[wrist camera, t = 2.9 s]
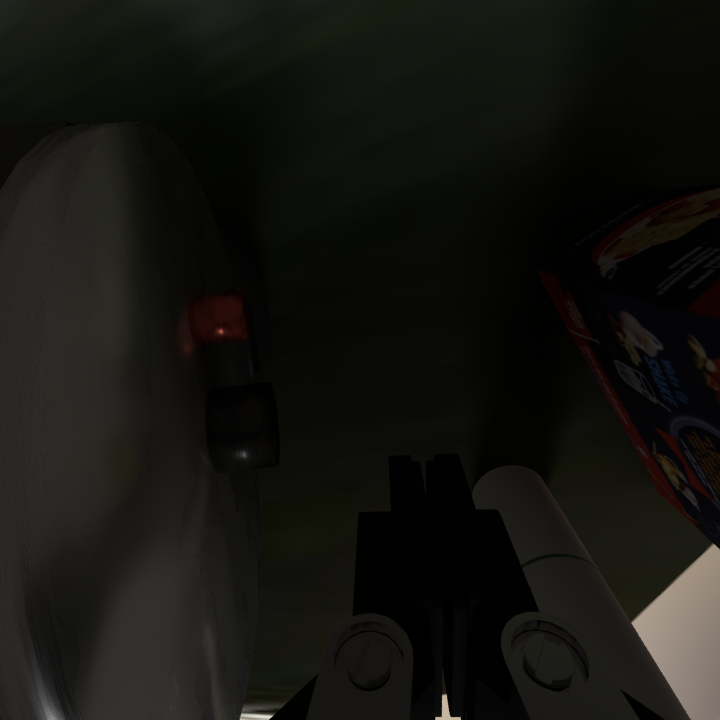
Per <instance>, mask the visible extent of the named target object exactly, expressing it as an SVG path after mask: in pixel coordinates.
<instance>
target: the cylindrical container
mask: <svg viewBox="0 0 720 720" xmlns="http://www.w3.org/2000/svg"><path fill="white" fill-rule="evenodd" d="M472 498H473V501H474V504H475V507H476V509H497V510H498V511H499V513H500V515H501V517H502V519H503V522H504V524H505V527H506V529H507V532H508V534H509V537H510V539H511V542H512V544H513V547H514V549H515V552H516V554H517V557H518V559H519V562H520V564H521V567H522V569H523V572H524V574H525V576H526V579H527V581H528V584H529V586H530V589H531V591H532V594H533V596H534V599H535V601H536V604H537V606H538V609H539V611H540V612H542V613H546V614H550V615H554V616H556V617H558V618H560V619H562V620H564V621H566V622H568V623H569V624H571V625H572V626H573V627H574V628H576V629H577V630H578V631H579V632H581V633H582V634H583V636H584V637H585V638H586V639H587V640H588V642H589V643H590V644H591V645H592V647H593V648H594V650H595V651H596V653H597V654H598V656H599V657H600V659H601V661H602V662H603V664H604V665H605V667H606V668H607V670H608V671H609V673H610V674H611V676H612V678H613V679H614V681H615V682H616V684H617V685H618V687H619V688H620V689H621V690H623V691H624V692H626V693H627V694H629V695H630V696H631V697H633V698H634V699H636V700H637V701H639V702H640V703H642V704H643V705H645V706H646V707H647V708H649V709H650V710H652V711H653V712H655V713H656V714H658V715H659V716H661V717H662V718H663V719H665V720H691V719H690V718H689V716H688V714H687V713H686V711H685V710H684V708H683V706H682V705H681V703H680V702H679V700H678V698H677V697H676V695H675V693H674V692H673V690H672V689H671V687H670V685H669V684H668V682H667V680H666V679H665V677H664V676H663V674H662V672H661V671H660V669H659V667H658V666H657V664H656V663H655V661H654V659H653V658H652V656H651V654H650V653H649V651H648V650H647V648H646V646H645V645H644V643H643V641H642V640H641V638H640V637H639V635H638V633H637V632H636V630H635V628H634V627H633V625H632V624H631V622H630V620H629V619H628V617H627V615H626V614H625V612H624V611H623V609H622V607H621V606H620V604H619V603H618V601H617V599H616V598H615V596H614V594H613V593H612V591H611V589H610V588H609V586H608V585H607V583H606V581H605V580H604V578H603V576H602V575H601V573H600V572H599V570H598V568H597V567H596V565H595V564H594V562H593V560H592V559H591V557H590V555H589V554H588V552H587V551H586V549H585V547H584V546H583V544H582V543H581V541H580V539H579V538H578V536H577V534H576V533H575V531H574V530H573V528H572V526H571V525H570V523H569V522H568V520H567V518H566V517H565V515H564V513H563V512H562V510H561V509H560V507H559V505H558V504H557V502H556V501H555V499H554V497H553V496H552V494H551V492H550V491H549V489H548V488H547V486H546V484H545V483H544V481H543V480H542V478H541V477H540V476H539V475H538V474H537V473H536V472H535V471H533V470H532V469H529V468H527V467H524V466H519V465H507V466H501V467H498V468H495V469H493V470H491V471H489V472H487V473H486V474H485V475H483V476H482V477H481V478H480V479H479V480H478V482H477V483H476V485H475V487H474V489H473V492H472Z"/></svg>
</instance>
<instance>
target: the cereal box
mask: <svg viewBox="0 0 720 720" xmlns="http://www.w3.org/2000/svg"><path fill="white" fill-rule="evenodd" d="M537 273H538V275H539V277H540V279H541V282H542V284H543V286H544V287H545V289H546V291H547V293H548V295H549V296H550V298H551V300H552V302H553V304H554V306H555V307H556V309H557V311H558V313H559V315H560V317H561V318H562V320H563V322H564V323H565V325H566V327H567V329H568V331H569V332H570V334H571V336H572V338H573V339H574V341H575V343H576V345H577V347H578V348H579V350H580V352H581V354H582V355H583V357H584V359H585V361H586V363H587V365H588V366H589V368H590V370H591V372H592V373H593V375H594V377H595V379H596V381H597V382H598V384H599V386H600V388H601V390H602V392H603V394H604V395H605V397H606V399H607V400H608V402H609V404H610V406H611V408H612V409H613V411H614V413H615V414H616V416H617V418H618V420H619V422H620V424H621V425H622V427H623V429H624V431H625V433H626V434H627V436H628V438H629V440H630V442H631V443H632V445H633V447H634V448H635V450H636V452H637V454H638V456H639V457H640V459H641V462H642V463H643V465H644V467H645V468H646V470H647V472H648V474H649V476H650V478H651V480H652V481H653V483H654V485H655V487H656V489H657V491H658V493H659V494H660V495H661V496H662V497H664V498H665V499H666V500H667V501H668V502H669V503H670V504H671V505H672V506H674V507H675V508H676V509H677V510H678V511H679V512H680V513H681V514H682V515H683V516H684V517H685V518H687V519H688V520H689V521H690V522H691V523H692V524H693V525H694V526H695V527H696V528H697V529H698V530H699V531H701V532H702V533H703V534H704V535H705V536H706V537H707V538H708V539H709V540H710V541H711V542H713V543H714V544H715V545H716V546H717V547H718V548H719V549H720V184H715V185H714V184H712V185H703V186H692V187H684V188H676V189H665V190H661V191H658V192H654V193H652V194H651V195H649V196H647V197H646V198H644V199H642V200H641V201H639V202H638V203H636V204H634V205H632V206H631V207H629V208H628V209H626V210H625V211H623V212H621V213H620V214H619V215H617V216H615V217H613V218H612V219H611V220H609V221H607V222H606V223H604V224H603V225H601V226H600V227H598V228H596V229H595V230H593V231H592V232H590V233H589V234H587V235H586V236H584V237H583V238H581V239H579V240H578V241H576V242H574V243H573V244H571V245H570V246H569V247H567V248H565V249H564V250H562V251H561V252H559V253H558V254H556V255H554V256H553V257H551V258H550V259H549V260H547V261H546V262H544V263H543V264H542V265H540V266H539V267H538V268H537Z"/></svg>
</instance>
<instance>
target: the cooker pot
mask: <svg viewBox="0 0 720 720" xmlns="http://www.w3.org/2000/svg"><path fill="white" fill-rule="evenodd" d="M71 125H74V124H70V123H67V122H63V123H50V124H37V125H24V126H10V127H0V190H1V188H2V187H3V185H4V184H5V182H6V181H7V179H8V178H9V176H10V174H11V173H12V171H13V170H14V168H15V167H16V165H17V164H18V162H19V161H20V160H21V159H22V158H23V157H24V156H25V155H26V154H27V153H28V152H29V151H30V150H31V149H32V148H33V147H35V146H36V145H37V144H38V143H39V142H40V141H41V140H42V139H43V138H44V137H46V136H48V135H50V134H52V133H54V132H56V131H59V130H61V129H63V128H65V127H67V126H71ZM216 222H217V221H216ZM217 225H218V228H219V231H220V234H221V237H222V240H223V243H224V247H225V250H226V254H227V257H228V261H229V264H230V268H231V272H232V276H233V280H234V284H235V288H236V292H242V291H243V292H244V293H245V296H246V299H247V304H248V309H249V316H250V328H251V335H250V340H249V341H246V344H247V350H248V357H249V364H250V371H251V376H255V375H256V374H257V372H258V371H259V369H260V368H261V366H260V358H261V356H262V353H263V350H264V347H265V345H266V340H267V335H268V326H269V312H268V302H267V297H266V292H265V289H264V286H263V283H262V280H261V277H260V275H259V273H258V271H257V269H256V267H255V264H254V263H253V261H252V259H251V258H250V256H249V255H248V253H247V252H246V250H245V249H244V248H243V246H242V245H241V244H240V243H239V241H238V240H237V239H236V238H235V237H234V236H233V235H232V234H231V233H230V232H229V231H228V230H227V229H226V228H225V227H224V226H222V225H221V224H220V223H218V222H217Z"/></svg>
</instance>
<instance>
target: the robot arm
mask: <svg viewBox="0 0 720 720" xmlns="http://www.w3.org/2000/svg"><path fill="white" fill-rule="evenodd" d="M389 476H390V501H391V511H388V512H359V516H358V532H357V550H356V567H355V584H354V602H353V617H350V618H349V619H347V620H346V621H344V622H343V623H341V624H340V625H339V626H338V627H337V628H336V629H335V630H334V632H333V633H332V634H331V635H330V638H329V640H328V642H327V644H326V647H325V650H324V654H323V658H322V661H321V665H320V669H319V673H318V674H317V675H316V676H315V677H314V678H313V679H312V680H311V681H310V682H309V683H308V684H307V685H306V686H305V687H303V688H302V689H301V690H300V691H299V692H298V693H297V694H296V695H295V696H294V697H293V698H292V699H291V700H290V701H289V702H287V703H286V704H285V705H284V706H283V707H282V708H281V709H280V710H279V711H278V712H277V713H276V714H275V715H274V716H273V717H271V718H270V719H269V720H435V717H441V716H442V665H443V672H444V679H445V686H446V693H447V700H448V707H449V712H450V716H451V717H461V720H665V719H663V718H662V717H661V716H659V715H658V714H656V713H655V712H653V711H652V710H650V709H649V708H647V707H646V706H645V705H643V704H642V703H640V702H639V701H637V700H636V699H634V698H633V697H631V696H630V695H629V694H627V693H626V692H624V691H623V690H621V689H620V688H619V687H618V685H617V684H616V682H615V681H614V679H613V678H612V676H611V674H610V673H609V671H608V670H607V668H606V667H605V665H604V664H603V662H602V661H601V659H600V657H599V656H598V654H597V653H596V651H595V650H594V648H593V647H592V645H591V644H590V643H589V642H588V640H587V639H586V638H585V637H584V636H583V634H582V633H581V632H579V631H578V630H577V629H576V628H574V627H573V626H572V625H571V624H569V623H568V622H566V621H564V620H562V619H560V618H558V617H556V616H554V615H550V614H546V613H542V612H540V611H539V609H538V606H537V604H536V601H535V599H534V596H533V594H532V591H531V589H530V586H529V584H528V581H527V579H526V576H525V574H524V572H523V569H522V567H521V564H520V562H519V559H518V557H517V554H516V552H515V549H514V547H513V544H512V542H511V539H510V537H509V534H508V532H507V529H506V527H505V524H504V522H503V519H502V517H501V515H500V513H499V511H498V510H497V509H476V507H475V504H474V501H473V498H472V495H471V492H470V489H469V486H468V483H467V480H466V477H465V474H464V471H463V468H462V465H461V461H460V458H459V456H458V454H435V456H434V461H426V494H425V488H424V482H423V477H422V471H421V465H420V461H411V455H400V456H389Z"/></svg>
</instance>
